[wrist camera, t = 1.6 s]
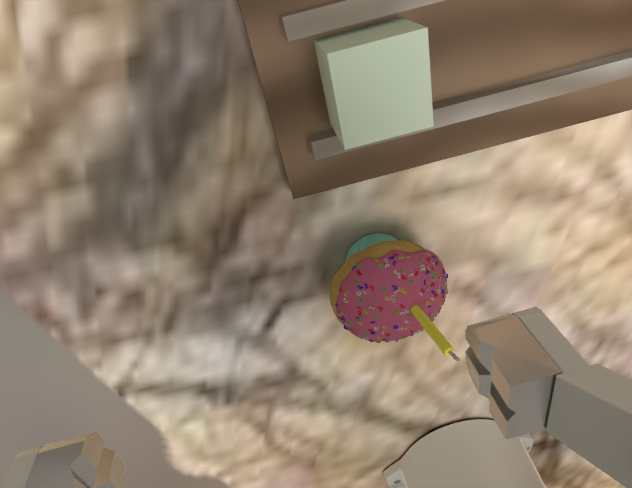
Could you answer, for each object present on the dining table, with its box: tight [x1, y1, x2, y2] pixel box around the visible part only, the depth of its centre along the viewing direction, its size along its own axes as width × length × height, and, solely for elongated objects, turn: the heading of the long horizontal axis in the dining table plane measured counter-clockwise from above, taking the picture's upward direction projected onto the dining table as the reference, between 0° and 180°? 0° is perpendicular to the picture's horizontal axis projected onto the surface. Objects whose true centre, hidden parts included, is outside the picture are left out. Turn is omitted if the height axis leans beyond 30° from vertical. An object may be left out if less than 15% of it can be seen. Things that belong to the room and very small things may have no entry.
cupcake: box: [330, 233, 460, 361], centre depth 31 cm, size 9×8×12 cm
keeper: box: [313, 17, 434, 150], centre depth 24 cm, size 5×5×4 cm
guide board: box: [238, 0, 632, 199], centre depth 25 cm, size 14×30×5 cm, turn 102°
